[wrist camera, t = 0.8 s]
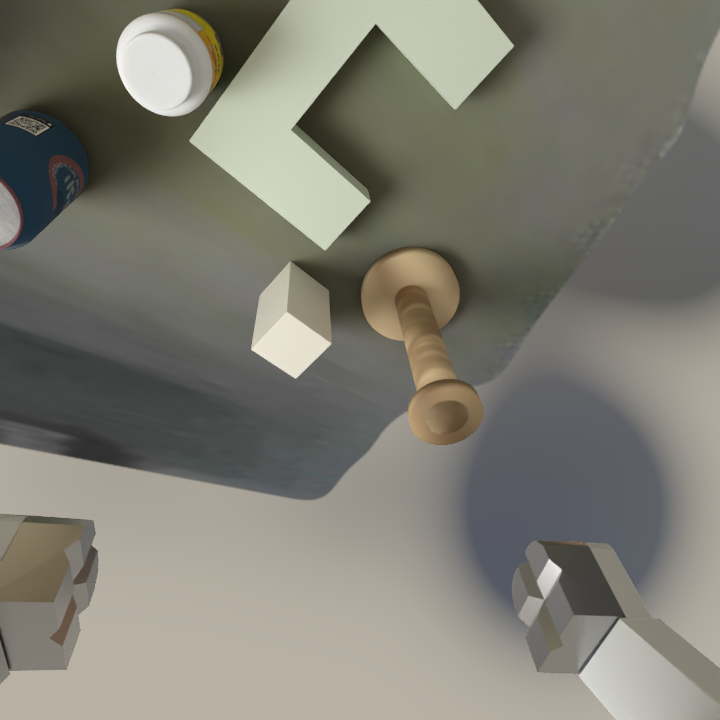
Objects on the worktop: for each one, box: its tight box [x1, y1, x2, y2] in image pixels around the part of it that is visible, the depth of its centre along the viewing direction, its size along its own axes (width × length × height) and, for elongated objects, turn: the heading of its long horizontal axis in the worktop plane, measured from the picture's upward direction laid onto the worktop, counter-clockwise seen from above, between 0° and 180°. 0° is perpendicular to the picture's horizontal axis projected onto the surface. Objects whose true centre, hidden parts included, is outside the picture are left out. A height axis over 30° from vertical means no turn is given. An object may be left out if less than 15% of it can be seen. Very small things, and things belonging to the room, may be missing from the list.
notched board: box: [189, 0, 514, 250], centre depth 41 cm, size 20×13×3 cm, turn 137°
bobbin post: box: [361, 247, 483, 445], centre depth 45 cm, size 9×9×18 cm
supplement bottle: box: [116, 8, 224, 116], centre depth 36 cm, size 6×6×10 cm
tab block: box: [251, 261, 332, 379], centre depth 48 cm, size 4×4×9 cm
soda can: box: [0, 110, 89, 251], centre depth 38 cm, size 7×7×12 cm
